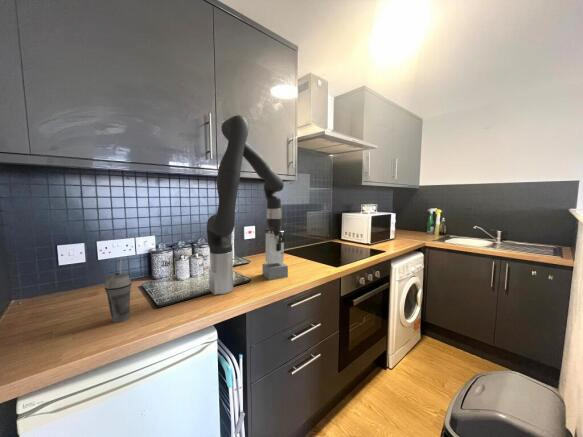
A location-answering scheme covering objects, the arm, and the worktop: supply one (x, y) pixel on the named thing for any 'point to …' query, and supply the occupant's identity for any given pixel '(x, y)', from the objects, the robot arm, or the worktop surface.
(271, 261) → the skincare box
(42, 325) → the worktop surface
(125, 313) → the beverage cup
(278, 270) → the charcoal block
